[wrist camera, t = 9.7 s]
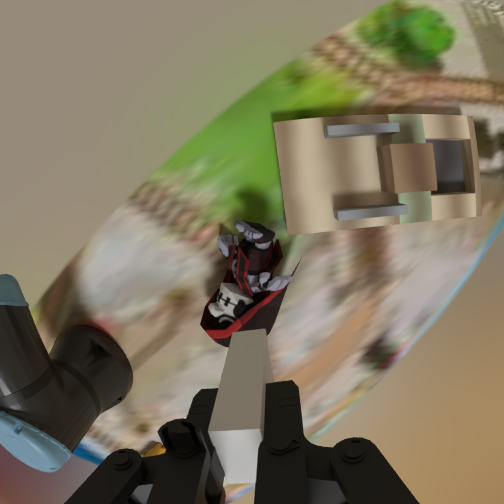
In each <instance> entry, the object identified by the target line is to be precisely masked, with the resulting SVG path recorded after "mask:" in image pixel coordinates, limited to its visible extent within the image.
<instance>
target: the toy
mask: <svg viewBox="0 0 504 504" xmlns="http://www.w3.org/2000/svg"><path fill="white" fill-rule="evenodd" d="M234 224H235V226H236V228H237V229H238V230H239V232H244V234H245V236H246V238H245V239H242V241H241V242H240V243H239V242H238V238H237V236H233V241H232V236H231V234H226V235H224V234H221V235H219V238H218V246H219V249H220V250H221V252H222V253H223V254H224V255H225V256H226V257H227V259H228V261H229V269H228V272H227V274H226V276H225V278H224V280H223V283H222V282H221V286H220V287H219V288H218V290H217V291H216V292H215V294H214V295H213V296H212V298H211V299H210V300H209V302H208V303H207V304H206V306H205V309H204V312H203V316H202V320H201V323H200V325H201V326H202V328H203V329H204V330H205V331H206V333H207V334H208V335H209V336H210V337H211V338H212V339H213V340H214V341H215V342H216V343H218V344H220V345H222V346H225V347H229V345H230V341H231V337H232V333H233V332H240V331H249V330H257V329H265V330H266V335H268V334H269V333H270V331H271V329H272V327H273V325H274V323H275V320H276V317H277V315H278V312H279V309H280V306H281V303H282V300H283V298H284V295H285V292H286V289H287V286H288V284H289V282H290V281H291V280H292V278H293V274H294V272H295V270H296V268H297V267H296V268H295V270H294V272H293V273H292V275H288V276H282V278H280V276H276V277H275V278H274V279H272V273H273V270H274V269H275V268H276V266H277V265H278V264H279V262H280V261H281V260H282V258H283V255H282V251H281V247H280V244H279V240H276V242H275V245H274V248H273V238H274V236H275V233H274V232H273V231H271V230H269V229H265V227H264V226H263V225H261V224H258V223H252V222H246V221H235V223H234ZM299 262H300V261H299ZM298 264H299V263H298ZM297 266H298V265H297ZM270 291H274V292H273V293H272V294H271V295H270Z"/></svg>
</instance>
